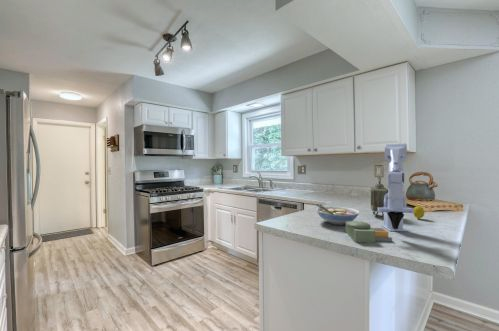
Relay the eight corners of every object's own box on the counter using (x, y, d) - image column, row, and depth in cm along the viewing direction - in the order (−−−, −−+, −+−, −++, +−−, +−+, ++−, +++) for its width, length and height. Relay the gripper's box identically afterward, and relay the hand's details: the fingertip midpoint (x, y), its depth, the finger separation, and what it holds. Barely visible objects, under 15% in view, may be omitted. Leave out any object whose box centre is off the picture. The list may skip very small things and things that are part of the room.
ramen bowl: (368, 229, 122) (368, 213, 121) (322, 229, 122) (322, 213, 122) (349, 218, 147) (349, 204, 146) (311, 217, 147) (311, 204, 147)
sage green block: (342, 231, 118) (342, 219, 118) (380, 233, 116) (380, 220, 116) (351, 242, 103) (351, 228, 103) (395, 243, 101) (395, 229, 101)
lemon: (419, 217, 147) (419, 204, 147) (426, 220, 142) (426, 206, 142) (410, 217, 147) (410, 204, 147) (417, 220, 142) (417, 206, 141)
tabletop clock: (370, 213, 160) (371, 175, 160) (386, 214, 157) (386, 176, 156) (373, 218, 147) (373, 177, 146) (390, 219, 143) (390, 177, 143)
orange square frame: (366, 236, 112) (366, 227, 112) (382, 236, 111) (382, 227, 111) (371, 240, 106) (371, 231, 106) (388, 240, 105) (388, 231, 105)
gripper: (382, 199, 105) (381, 230, 105) (418, 200, 103) (417, 231, 103) (375, 197, 112) (375, 226, 112) (409, 197, 110) (408, 227, 110)
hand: (395, 228), depth 108 cm, fingers closed
